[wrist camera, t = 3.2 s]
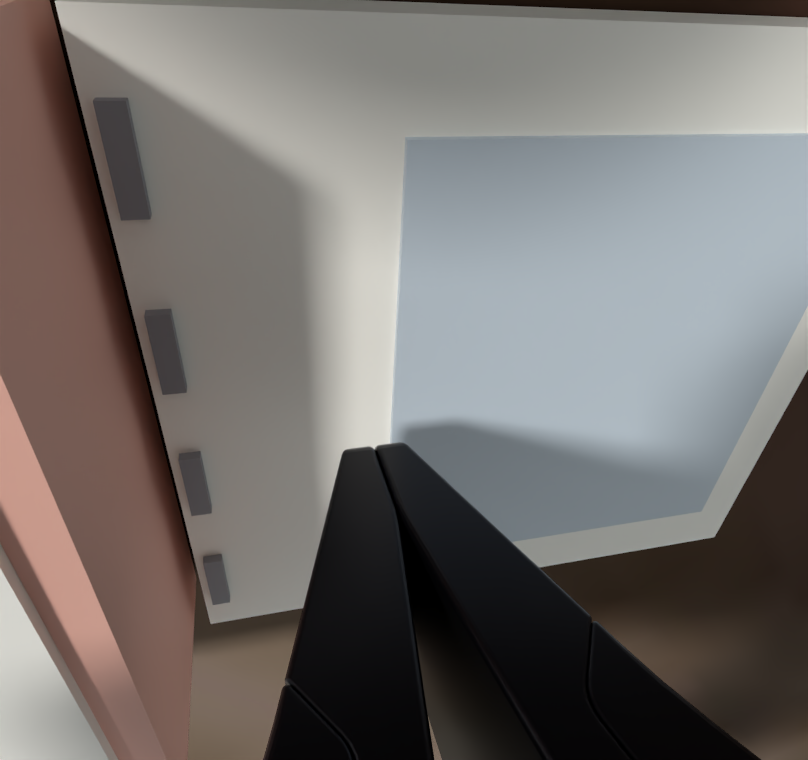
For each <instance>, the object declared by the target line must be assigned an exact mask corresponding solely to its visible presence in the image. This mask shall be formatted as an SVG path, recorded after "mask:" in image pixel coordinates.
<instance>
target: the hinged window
mask: <svg viewBox="0 0 808 760" xmlns="http://www.w3.org/2000/svg"><path fill="white" fill-rule="evenodd" d="M55 5H56V9H57V13H58V17H59V21H60V25H61V29H62V33H63V37H64V41H65V45H66V49H67V53H68V57H69V61H70V65H71V69H72V73H73V77H74V81H75V85H76V89H77V93H78V97H79V101H80V105H81V109H82V113H83V117H84V121H85V125H86V129H87V133H88V137H89V141H90V145H91V149H92V153H93V157H94V161H95V165H96V169H97V173H98V177H99V181H100V185H101V189H102V193H103V197H104V201H105V204H106V208H107V212H108V216H109V220H110V224H111V228H112V232H113V236H114V240H115V244H116V248H117V252H118V256H119V260H120V264H121V268H122V272H123V276H124V280H125V284H126V288H127V292H128V296H129V300H130V304H131V308H132V312H133V316H134V320H135V324H136V328H137V332H138V336H139V340H140V344H141V348H142V352H143V356H144V360H145V364H146V368H147V372H148V376H149V380H150V384H151V388H152V392H153V396H154V400H155V404H156V408H157V412H158V416H159V420H160V424H161V428H162V432H163V436H164V440H165V444H166V448H167V452H168V456H169V460H170V464H171V468H172V472H173V476H174V480H175V484H176V488H177V492H178V496H179V500H180V504H181V508H182V512H183V516H184V520H185V524H186V528H187V532H188V536H189V540H190V544H191V548H192V552H193V556H194V560H195V564H196V568H197V572H198V576H199V580H200V584H201V588H202V592H203V596H204V600H205V604H206V608H207V612H208V616H209V620H210V623H211V624H214V623H219V622H225V621H231V620H237V619H243V618H249V617H254V616H260V615H266V614H272V613H278V612H283V611H289V610H295V609H301V608H303V606H304V602H305V598H306V594H307V591H308V587H309V583H310V579H311V575H312V571H313V567H314V563H315V559H316V555H317V551H318V547H319V543H320V539H321V535H322V531H323V527H324V523H325V519H326V515H327V511H328V507H329V503H330V499H331V495H332V491H333V487H334V483H335V479H336V475H337V471H338V467H339V463H340V459H341V455H342V453H343V451H344V450H346V449H351V448H359V447H366V446H370V447H372V448H373V449H375V447H377V446H378V445H382V444H390V443H398V442H403V443H405V444H407V445H408V446H409V447H411V448H412V449H413V450H414V451H415V452H416V453H417V454H418V455H419V456H420V457H421V458H422V459H423V460H424V461H425V462H427V463H428V464H429V465H430V466H431V467H432V468H433V469H434V470H435V471H436V472H437V473H438V474H439V475H440V476H442V477H443V478H444V479H445V480H446V481H447V482H448V483H449V484H450V485H451V486H452V487H453V488H454V489H455V490H457V491H458V492H459V493H460V494H461V495H462V496H463V497H464V498H465V499H466V500H467V501H468V502H469V503H470V504H472V505H473V506H474V507H475V508H476V509H477V510H478V511H479V512H480V513H481V514H482V515H483V516H484V517H485V518H487V519H488V520H489V521H490V522H491V523H492V524H493V525H494V526H495V527H496V528H497V529H498V530H499V531H500V532H501V533H503V534H504V535H505V536H506V537H507V538H508V539H509V540H510V541H511V542H512V543H513V544H514V545H515V546H516V547H518V548H519V549H520V550H521V551H522V552H523V553H524V554H525V555H526V556H527V557H528V558H529V559H530V560H531V561H533V562H534V563H535V564H536V565H537V566H538V567H545V566H551V565H556V564H562V563H568V562H574V561H580V560H585V559H591V558H597V557H603V556H609V555H615V554H620V553H626V552H632V551H638V550H644V549H649V548H655V547H661V546H667V545H673V544H678V543H684V542H690V541H696V540H702V539H707V538H713V537H715V535H716V534H717V532H718V530H719V528H720V526H721V525H722V523H723V521H724V519H725V517H726V516H727V514H728V512H729V510H730V509H731V507H732V505H733V503H734V501H735V500H736V498H737V496H738V494H739V492H740V491H741V489H742V487H743V485H744V483H745V482H746V480H747V478H748V476H749V474H750V473H751V471H752V469H753V467H754V465H755V464H756V462H757V460H758V458H759V456H760V455H761V453H762V451H763V449H764V447H765V446H766V444H767V442H768V440H769V439H770V437H771V435H772V433H773V431H774V430H775V428H776V426H777V424H778V422H779V421H780V419H781V417H782V415H783V413H784V412H785V410H786V408H787V406H788V404H789V403H790V401H791V399H792V397H793V395H794V394H795V392H796V390H797V388H798V386H799V385H800V383H801V381H802V379H803V377H804V376H805V374H806V372H807V370H808V18H807V17H781V16H756V15H730V14H705V13H679V12H654V11H628V10H602V9H577V8H551V7H526V6H500V5H474V4H449V3H423V2H398V1H372V0H56V1H55Z"/></svg>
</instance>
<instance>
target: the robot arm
mask: <svg viewBox="0 0 808 760" xmlns="http://www.w3.org/2000/svg"><path fill="white" fill-rule="evenodd" d="M591 622H592V618H591V616H590V615H589V614H588V613H587V612H586V611H585V610H584V609H583V608H582V607H581V606H580V605H579V604H578V603H576V602H575V601H574V600H573V599H572V598H571V597H570V596H569V595H568V594H567V593H566V592H565V591H564V590H563V589H561V588H560V587H559V586H558V585H557V584H556V583H555V582H554V581H553V580H552V579H551V578H550V577H549V576H548V575H546V574H545V573H544V572H543V571H542V570H541V569H540V568H539V567H538V566H537V565H536V564H535V563H534V562H533V561H531V560H530V559H529V558H528V557H527V556H526V555H525V554H524V553H523V552H522V551H521V550H520V549H519V548H518V547H516V546H515V545H514V544H513V543H512V542H511V541H510V540H509V539H508V538H507V537H506V536H505V535H504V534H503V533H501V532H500V531H499V530H498V529H497V528H496V527H495V526H494V525H493V524H492V523H491V522H490V521H489V520H488V519H487V518H485V517H484V516H483V515H482V514H481V513H480V512H479V511H478V510H477V509H476V508H475V507H474V506H473V505H472V504H470V503H469V502H468V501H467V500H466V499H465V498H464V497H463V496H462V495H461V494H460V493H459V492H458V491H457V490H455V489H454V488H453V487H452V486H451V485H450V484H449V483H448V482H447V481H446V480H445V479H444V478H443V477H442V476H440V475H439V474H438V473H437V472H436V471H435V470H434V469H433V468H432V467H431V466H430V465H429V464H428V463H427V462H425V461H424V460H423V459H422V458H421V457H420V456H419V455H418V454H417V453H416V452H415V451H414V450H413V449H412V448H411V447H409V446H408V445H407V444H405V443H403V442H398V443H390V444H382V445H378V446H377V447H375V449H373V448H372V447H370V446H366V447H359V448H351V449H346V450H344V451H343V453H342V455H341V459H340V463H339V467H338V471H337V475H336V479H335V483H334V487H333V491H332V495H331V499H330V503H329V507H328V511H327V515H326V519H325V523H324V527H323V531H322V535H321V539H320V543H319V547H318V551H317V555H316V559H315V563H314V567H313V571H312V575H311V579H310V583H309V587H308V591H307V594H306V598H305V602H304V606H303V610H302V614H301V618H300V622H299V626H298V630H297V634H296V638H295V642H294V646H293V650H292V654H291V658H290V662H289V666H288V670H287V674H286V678H285V684H286V685H285V686H284V687H283V688H282V692H281V696H280V700H279V704H278V708H277V712H276V716H275V719H274V723H273V727H272V730H271V734H270V737H269V741H268V744H267V748H266V751H265V755H264V758H263V760H434V755H433V748H432V741H431V735H430V728H429V721H428V717H429V720H430V723H431V726H432V729H433V732H434V735H435V739H436V742H437V745H438V748H439V751H440V754H441V758H442V760H761V759H760V758H758V757H757V756H756V755H754V754H753V753H752V752H751V751H749V750H748V749H747V748H746V747H744V746H743V745H742V744H740V743H739V742H738V741H737V740H735V739H734V738H733V737H731V736H730V735H729V734H728V733H726V732H725V731H724V730H723V729H721V728H720V727H719V726H717V725H716V724H715V723H714V722H712V721H711V720H710V719H709V718H707V717H706V716H705V715H704V714H702V713H701V712H700V711H699V710H698V709H696V708H695V707H694V706H693V705H691V704H690V703H689V702H688V701H687V700H685V699H684V698H683V697H682V696H680V695H679V694H678V693H677V692H675V691H674V690H673V689H672V688H671V687H669V686H668V685H667V684H666V683H664V682H663V681H662V680H661V679H660V678H659V677H658V676H656V675H655V674H654V673H653V672H652V671H651V670H650V669H649V668H647V667H646V666H645V665H644V664H643V663H642V662H641V661H640V660H639V659H637V658H636V657H635V656H634V655H633V654H632V653H631V652H630V651H628V650H627V649H626V648H625V647H624V646H623V645H622V644H621V643H620V642H618V641H617V640H616V639H615V638H614V637H613V636H612V635H611V634H610V633H609V632H608V631H607V630H606V629H605V628H604V627H602V626H601V625H600V624H599V623H598V622H597V621H594V622H592V623H591ZM427 713H428V714H427Z"/></svg>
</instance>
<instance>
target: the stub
mask: <svg viewBox="0 0 808 760" xmlns="http://www.w3.org/2000/svg"><path fill="white" fill-rule="evenodd" d="M195 597H196V573H195V570H194V566H193V562H192V558H191V554H190V550H189V546H188V542H187V538H186V534H185V530H184V526H183V522H182V518H181V515H180V511H179V507H178V503H177V499H176V495H175V491H174V487H173V483H172V479H171V475H170V471H169V467H168V463H167V460H166V456H165V452H164V448H163V444H162V440H161V436H160V432H159V428H158V424H157V420H156V416H155V412H154V408H153V405H152V401H151V397H150V393H149V389H148V385H147V381H146V377H145V373H144V369H143V365H142V361H141V357H140V354H139V350H138V346H137V342H136V338H135V334H134V330H133V326H132V322H131V318H130V314H129V310H128V306H127V302H126V299H125V295H124V291H123V287H122V283H121V279H120V275H119V271H118V267H117V263H116V259H115V255H114V251H113V247H112V244H111V240H110V236H109V232H108V228H107V224H106V220H105V216H104V212H103V208H102V204H101V200H100V196H99V192H98V189H97V185H96V181H95V177H94V173H93V169H92V165H91V161H90V157H89V153H88V149H87V145H86V141H85V137H84V134H83V130H82V126H81V122H80V118H79V114H78V110H77V106H76V102H75V98H74V94H73V90H72V86H71V82H70V79H69V75H68V71H67V67H66V63H65V59H64V55H63V51H62V47H61V43H60V39H59V35H58V31H57V28H56V24H55V20H54V16H53V12H52V8H51V4H50V0H0V760H187V756H188V737H189V717H190V697H191V677H192V657H193V637H194V617H195Z"/></svg>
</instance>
